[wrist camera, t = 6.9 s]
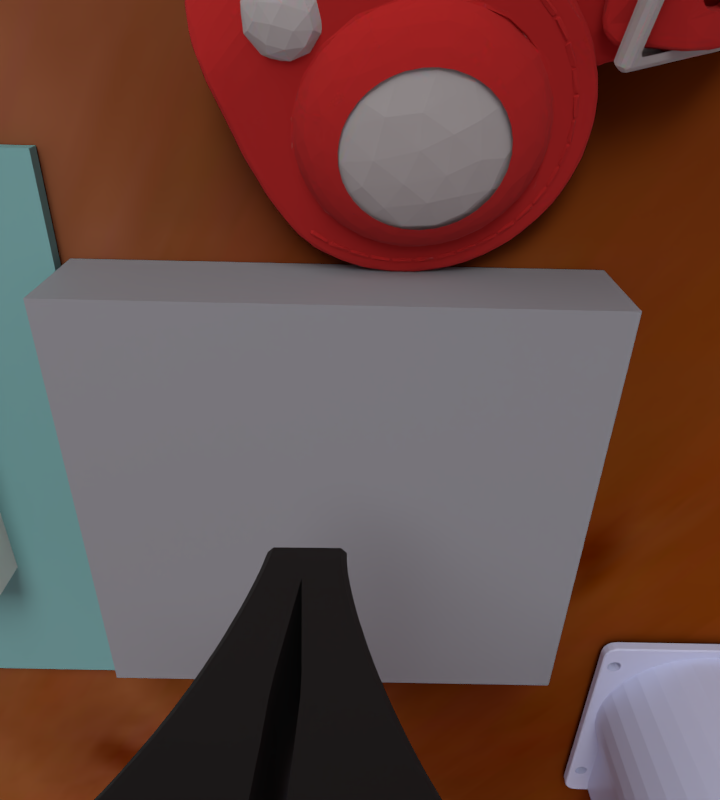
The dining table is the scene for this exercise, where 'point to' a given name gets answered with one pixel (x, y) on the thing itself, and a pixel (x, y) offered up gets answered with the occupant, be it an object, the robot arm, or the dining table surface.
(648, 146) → the dining table surface
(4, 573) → the tile
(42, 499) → the mat
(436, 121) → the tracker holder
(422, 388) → the block
